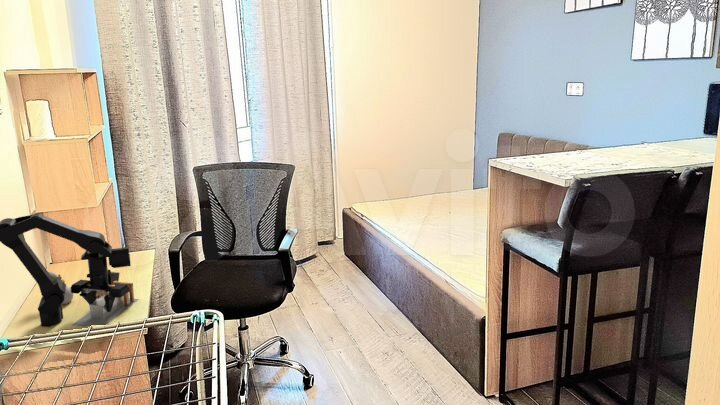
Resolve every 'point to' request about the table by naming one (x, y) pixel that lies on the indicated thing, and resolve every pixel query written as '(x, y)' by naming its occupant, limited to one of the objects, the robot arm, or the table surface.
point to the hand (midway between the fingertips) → (102, 311)
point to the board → (90, 321)
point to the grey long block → (104, 307)
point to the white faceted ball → (68, 290)
